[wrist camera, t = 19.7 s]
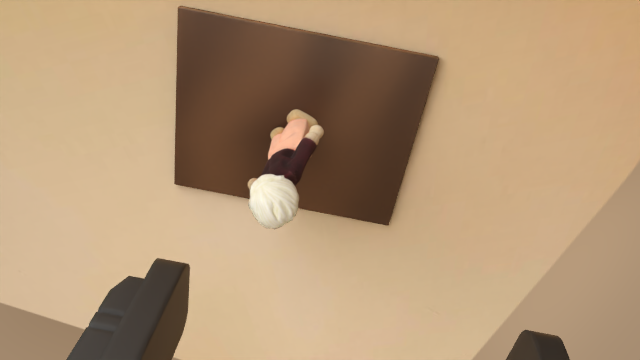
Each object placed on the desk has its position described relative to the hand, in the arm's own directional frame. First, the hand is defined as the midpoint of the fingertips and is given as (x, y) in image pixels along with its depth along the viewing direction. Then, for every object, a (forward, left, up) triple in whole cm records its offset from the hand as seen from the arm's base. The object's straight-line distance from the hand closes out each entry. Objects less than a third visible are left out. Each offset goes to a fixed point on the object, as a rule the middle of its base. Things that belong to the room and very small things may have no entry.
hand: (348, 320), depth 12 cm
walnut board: (+4, +10, -30) cm, 32 cm away
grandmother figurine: (+4, +10, -30) cm, 32 cm away
